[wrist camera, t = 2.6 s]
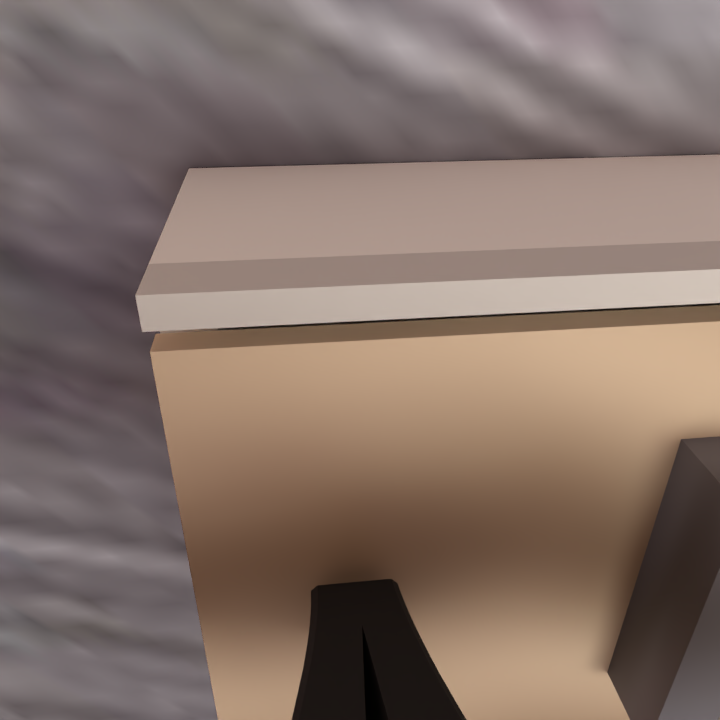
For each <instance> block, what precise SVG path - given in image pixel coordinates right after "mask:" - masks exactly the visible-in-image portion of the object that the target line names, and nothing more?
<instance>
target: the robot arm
mask: <svg viewBox="0 0 720 720" xmlns="http://www.w3.org/2000/svg"><path fill="white" fill-rule="evenodd" d="M292 720H467V719H466V718H465V716H464V715H463V713H462V711H461V710H460V708H459V706H458V704H457V703H456V701H455V699H454V697H453V696H452V694H451V692H450V691H449V689H448V687H447V685H446V684H445V682H444V680H443V678H442V677H441V675H440V673H439V671H438V669H437V668H436V666H435V664H434V662H433V660H432V658H431V656H430V655H429V653H428V651H427V649H426V647H425V645H424V643H423V641H422V639H421V637H420V635H419V633H418V631H417V629H416V626H415V624H414V622H413V620H412V618H411V616H410V613H409V611H408V609H407V606H406V604H405V602H404V599H403V597H402V594H401V592H400V589H399V586H398V583H397V582H395V581H394V580H392V579H382V580H371V581H360V582H349V583H338V584H327V585H317V586H316V587H315V588H314V589H313V590H311V614H310V626H309V635H308V642H307V648H306V654H305V660H304V666H303V671H302V676H301V680H300V685H299V689H298V694H297V698H296V703H295V707H294V712H293V716H292Z"/></svg>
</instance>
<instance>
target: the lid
mask: <svg viewBox="0 0 720 720" xmlns="http://www.w3.org/2000/svg"><path fill="white" fill-rule="evenodd" d="M150 355H151V361H152V366H153V372H154V377H155V382H156V388H157V393H158V399H159V404H160V409H161V415H162V420H163V425H164V431H165V436H166V442H167V447H168V452H169V458H170V463H171V469H172V474H173V479H174V485H175V490H176V496H177V501H178V506H179V512H180V517H181V523H182V528H183V533H184V539H185V544H186V550H187V555H188V560H189V566H190V571H191V576H192V582H193V587H194V593H195V598H196V603H197V609H198V614H199V620H200V625H201V630H202V636H203V641H204V647H205V652H206V657H207V663H208V668H209V674H210V679H211V684H212V690H213V695H214V701H215V706H216V711H217V717H218V720H292V716H293V712H294V707H295V703H296V698H297V694H298V689H299V685H300V680H301V676H302V671H303V666H304V660H305V654H306V648H307V642H308V635H309V626H310V614H311V590H313V589H314V588H315V587H316V586H317V585H327V584H338V583H349V582H360V581H371V580H382V579H392V580H394V581H395V582H397V583H398V586H399V589H400V592H401V594H402V597H403V599H404V602H405V604H406V606H407V609H408V611H409V613H410V616H411V618H412V620H413V622H414V624H415V626H416V629H417V631H418V633H419V635H420V637H421V639H422V641H423V643H424V645H425V647H426V649H427V651H428V653H429V655H430V656H431V658H432V660H433V662H434V664H435V666H436V668H437V669H438V671H439V673H440V675H441V677H442V678H443V680H444V682H445V684H446V685H447V687H448V689H449V691H450V692H451V694H452V696H453V697H454V699H455V701H456V703H457V704H458V706H459V708H460V710H461V711H462V713H463V715H464V716H465V718H466V719H467V720H718V719H719V717H720V305H711V306H691V307H672V308H652V309H633V310H613V311H593V312H574V313H554V314H535V315H515V316H495V317H476V318H456V319H437V320H417V321H397V322H378V323H358V324H339V325H319V326H299V327H280V328H260V329H241V330H221V331H201V332H182V333H162V334H155V338H154V341H153V344H152V347H151V350H150Z"/></svg>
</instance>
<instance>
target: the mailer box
mask: <svg viewBox="0 0 720 720" xmlns="http://www.w3.org/2000/svg"><path fill="white" fill-rule="evenodd" d="M135 297H136V302H137V307H138V313H139V318H140V323H141V329H142V332H153V331H160V333H161V334H162V333H182V332H201V331H221V330H241V329H260V328H280V327H299V326H319V325H339V324H358V323H378V322H397V321H417V320H437V319H456V318H476V317H495V316H515V315H535V314H554V313H574V312H593V311H613V310H633V309H652V308H672V307H691V306H711V305H720V155H682V156H644V157H605V158H567V159H529V160H491V161H452V162H414V163H376V164H338V165H299V166H261V167H223V168H189V169H188V172H187V174H186V177H185V179H184V181H183V184H182V186H181V188H180V191H179V193H178V195H177V198H176V200H175V203H174V205H173V207H172V210H171V212H170V214H169V217H168V219H167V221H166V224H165V226H164V229H163V231H162V233H161V236H160V238H159V240H158V243H157V245H156V248H155V250H154V252H153V255H152V257H151V259H150V262H149V264H148V266H147V269H146V271H145V274H144V276H143V278H142V281H141V283H140V285H139V288H138V290H137V293H136V295H135ZM718 720H720V717H719V719H718Z"/></svg>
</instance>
